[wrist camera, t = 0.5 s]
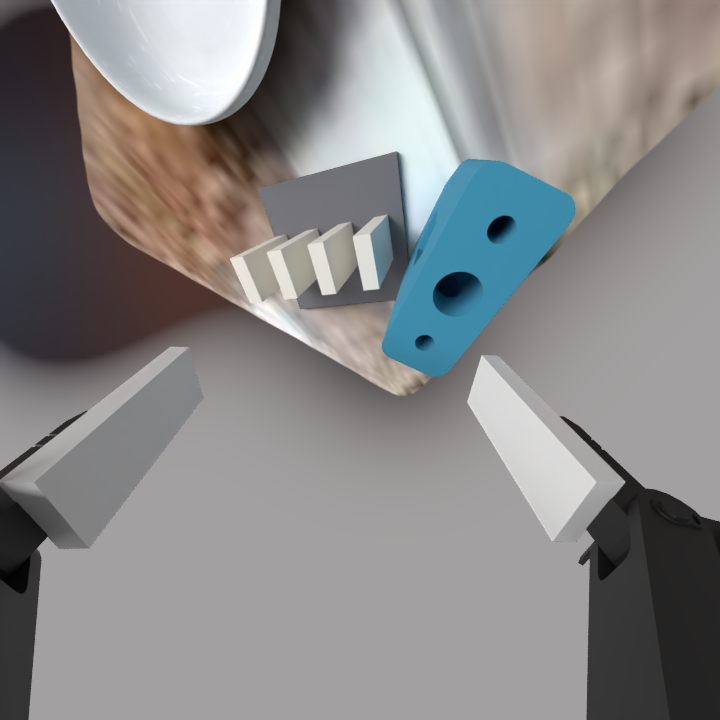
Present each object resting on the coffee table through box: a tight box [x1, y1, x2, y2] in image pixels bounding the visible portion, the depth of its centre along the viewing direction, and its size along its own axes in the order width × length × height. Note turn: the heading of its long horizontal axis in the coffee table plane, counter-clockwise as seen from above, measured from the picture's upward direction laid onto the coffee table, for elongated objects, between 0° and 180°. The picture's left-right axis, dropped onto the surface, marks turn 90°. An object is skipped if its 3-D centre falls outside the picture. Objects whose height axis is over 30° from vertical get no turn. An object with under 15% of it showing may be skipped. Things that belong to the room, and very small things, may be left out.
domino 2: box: [267, 229, 320, 299], centre depth 32 cm, size 2×5×10 cm, turn 12°
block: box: [382, 159, 575, 377], centre depth 23 cm, size 12×5×20 cm, turn 159°
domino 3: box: [307, 222, 358, 295], centre depth 30 cm, size 2×5×10 cm, turn 12°
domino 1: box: [230, 235, 288, 303], centre depth 33 cm, size 2×5×10 cm, turn 13°
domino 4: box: [353, 215, 394, 291], centre depth 29 cm, size 2×5×10 cm, turn 12°
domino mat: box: [258, 152, 409, 309], centre depth 35 cm, size 17×16×1 cm
